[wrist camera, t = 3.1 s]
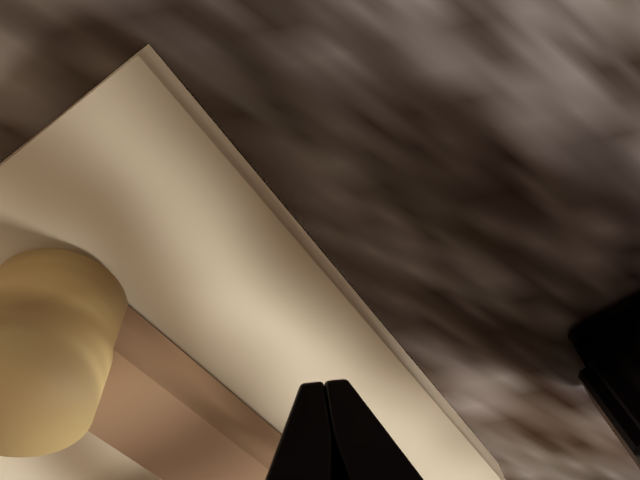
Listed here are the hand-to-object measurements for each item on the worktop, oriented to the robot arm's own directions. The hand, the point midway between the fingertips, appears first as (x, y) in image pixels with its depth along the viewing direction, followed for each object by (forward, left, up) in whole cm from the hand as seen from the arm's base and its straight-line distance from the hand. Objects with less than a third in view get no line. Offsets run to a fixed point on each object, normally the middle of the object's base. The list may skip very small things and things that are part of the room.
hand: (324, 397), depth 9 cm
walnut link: (+8, +5, -7) cm, 12 cm away
